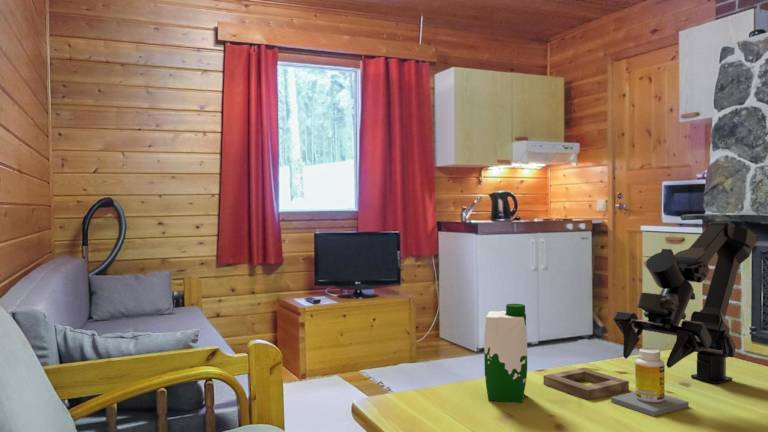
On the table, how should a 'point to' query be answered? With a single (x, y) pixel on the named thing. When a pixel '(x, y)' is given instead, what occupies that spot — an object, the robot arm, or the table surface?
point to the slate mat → (650, 404)
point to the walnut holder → (600, 388)
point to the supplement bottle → (649, 376)
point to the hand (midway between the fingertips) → (645, 361)
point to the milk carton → (506, 354)
